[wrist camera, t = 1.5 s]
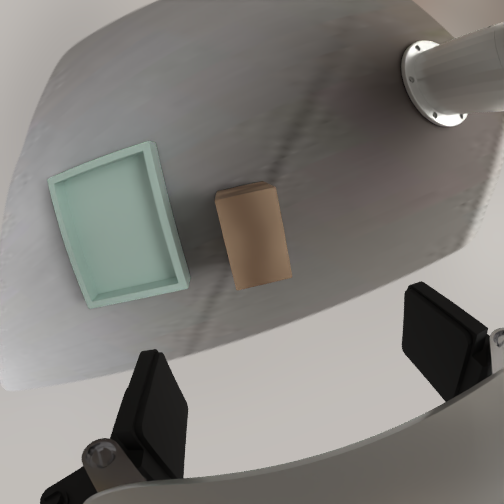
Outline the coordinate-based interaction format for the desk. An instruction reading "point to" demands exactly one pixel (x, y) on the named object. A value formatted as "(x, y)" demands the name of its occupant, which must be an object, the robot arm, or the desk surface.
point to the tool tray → (120, 227)
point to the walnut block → (253, 234)
